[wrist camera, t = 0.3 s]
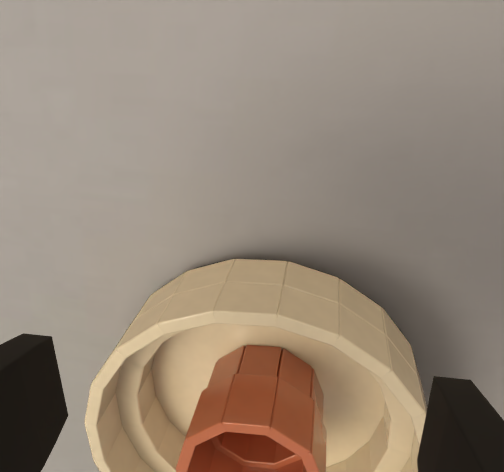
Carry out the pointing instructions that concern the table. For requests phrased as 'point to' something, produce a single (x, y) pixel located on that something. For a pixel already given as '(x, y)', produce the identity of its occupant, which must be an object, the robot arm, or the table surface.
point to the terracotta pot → (257, 416)
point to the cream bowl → (265, 334)
